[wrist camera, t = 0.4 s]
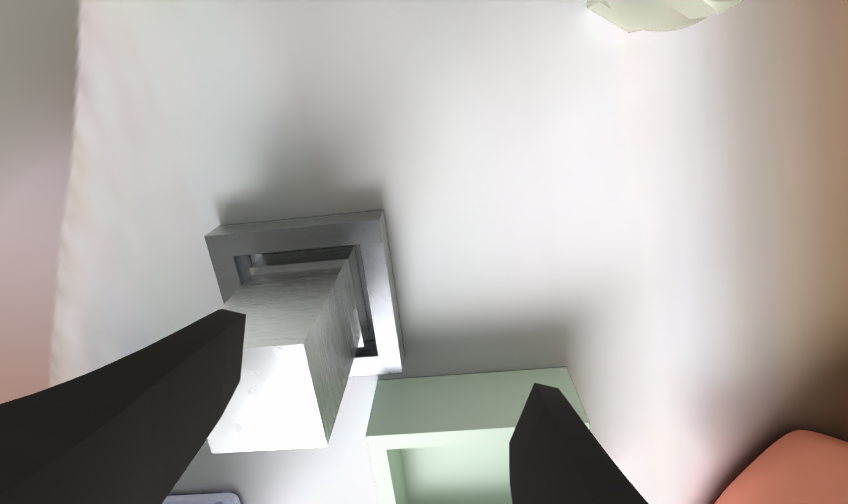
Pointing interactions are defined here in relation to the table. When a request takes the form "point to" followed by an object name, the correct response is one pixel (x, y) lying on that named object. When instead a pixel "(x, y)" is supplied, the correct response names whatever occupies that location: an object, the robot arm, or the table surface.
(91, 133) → the table surface
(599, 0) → the valve
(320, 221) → the socket
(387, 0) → the table surface
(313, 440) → the strut
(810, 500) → the teapot
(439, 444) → the bin
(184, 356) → the robot arm
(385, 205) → the table surface
